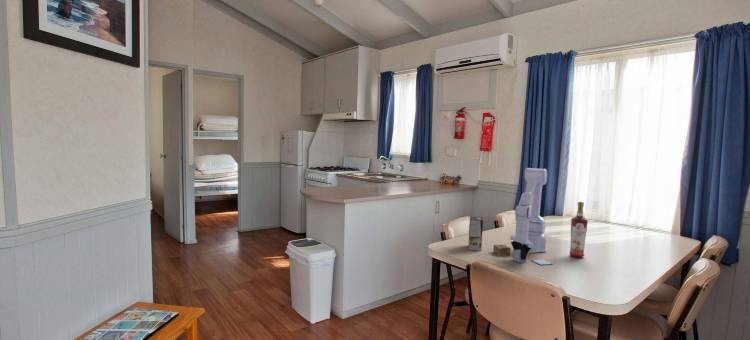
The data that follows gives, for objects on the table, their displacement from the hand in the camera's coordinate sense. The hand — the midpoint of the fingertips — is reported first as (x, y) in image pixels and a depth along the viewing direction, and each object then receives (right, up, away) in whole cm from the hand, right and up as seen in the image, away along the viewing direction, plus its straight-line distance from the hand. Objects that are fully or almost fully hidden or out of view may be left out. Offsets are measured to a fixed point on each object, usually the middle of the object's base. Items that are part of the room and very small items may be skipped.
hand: (520, 258), depth 178 cm
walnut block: (-5, -1, +11) cm, 12 cm away
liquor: (+33, -2, +10) cm, 34 cm away
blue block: (0, -1, 0) cm, 1 cm away
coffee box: (-17, 0, +19) cm, 26 cm away
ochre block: (+5, -1, +9) cm, 10 cm away
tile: (+10, -2, -1) cm, 10 cm away
